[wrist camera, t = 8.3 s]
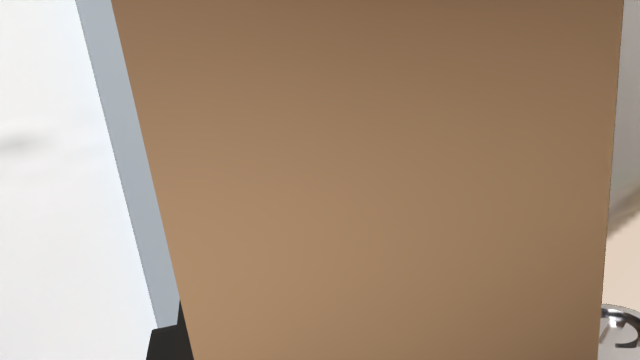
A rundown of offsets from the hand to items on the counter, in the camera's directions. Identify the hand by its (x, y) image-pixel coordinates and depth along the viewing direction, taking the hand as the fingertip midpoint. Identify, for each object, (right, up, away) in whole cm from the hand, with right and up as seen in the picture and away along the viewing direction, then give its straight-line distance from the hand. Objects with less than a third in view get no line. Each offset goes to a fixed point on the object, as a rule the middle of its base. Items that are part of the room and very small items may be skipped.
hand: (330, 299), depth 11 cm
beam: (0, 0, +1) cm, 1 cm away
